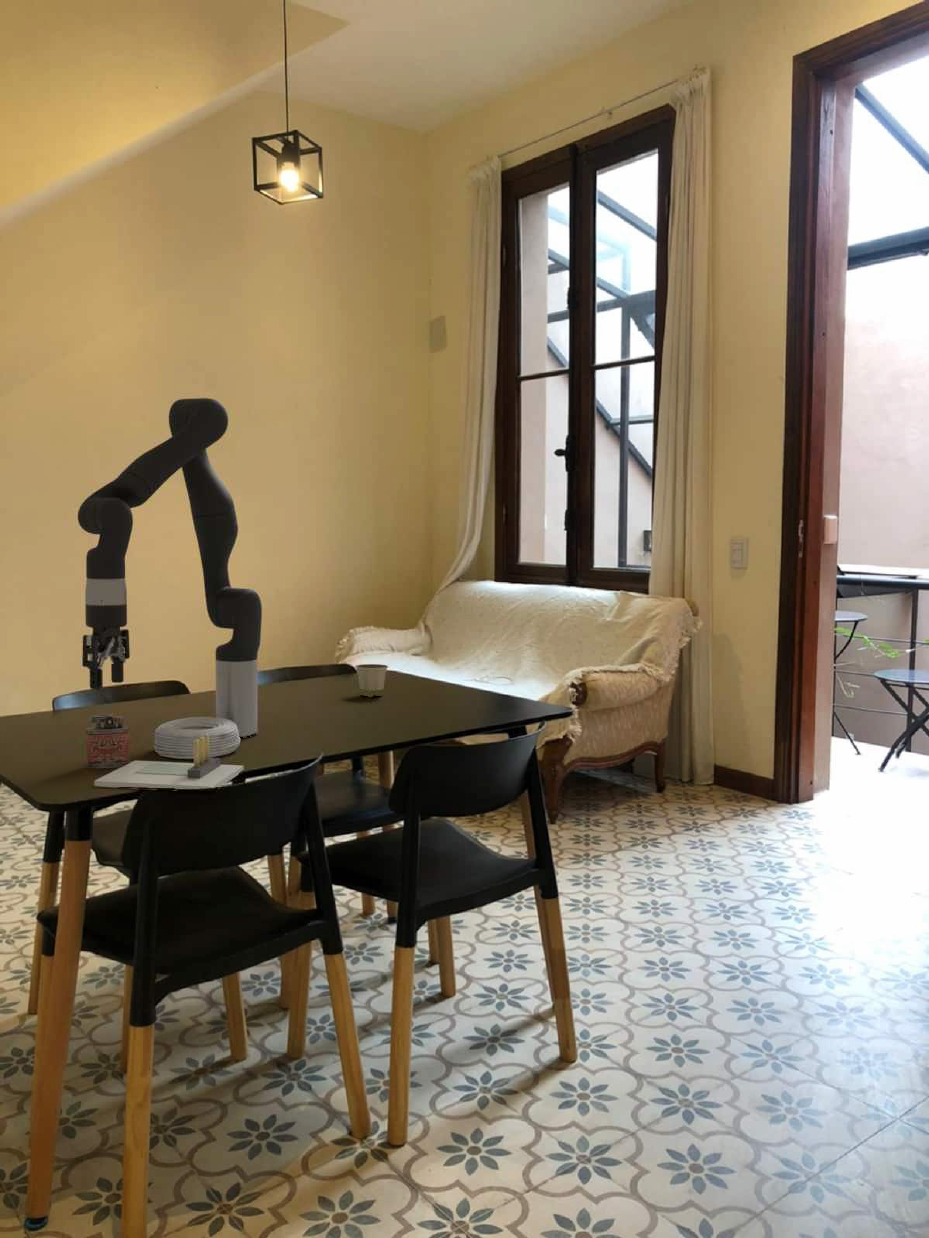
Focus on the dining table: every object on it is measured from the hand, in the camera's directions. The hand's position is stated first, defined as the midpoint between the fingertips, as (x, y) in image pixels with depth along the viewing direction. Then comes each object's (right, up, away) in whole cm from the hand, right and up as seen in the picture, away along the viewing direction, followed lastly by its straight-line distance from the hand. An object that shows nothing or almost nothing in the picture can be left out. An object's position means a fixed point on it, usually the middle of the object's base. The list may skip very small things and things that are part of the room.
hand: (107, 685), depth 188 cm
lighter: (0, -16, +1) cm, 16 cm away
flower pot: (+43, -9, +88) cm, 99 cm away
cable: (+13, -15, +15) cm, 26 cm away
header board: (+15, -17, -7) cm, 24 cm away
